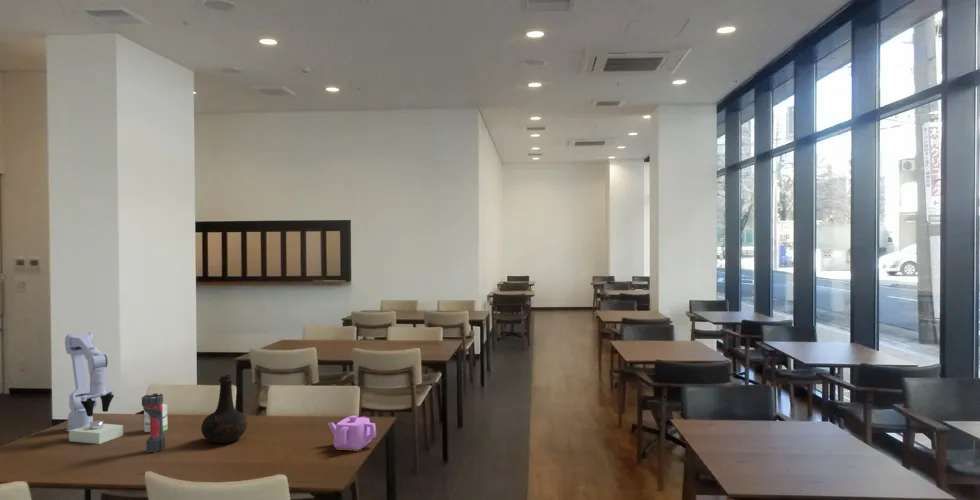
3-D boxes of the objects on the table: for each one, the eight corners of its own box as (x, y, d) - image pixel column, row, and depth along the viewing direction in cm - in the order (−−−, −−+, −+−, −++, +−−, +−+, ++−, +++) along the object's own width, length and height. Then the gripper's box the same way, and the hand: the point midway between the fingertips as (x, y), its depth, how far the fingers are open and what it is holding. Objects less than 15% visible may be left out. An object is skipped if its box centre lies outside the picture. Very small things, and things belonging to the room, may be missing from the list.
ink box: (168, 429, 272) (168, 403, 272) (160, 432, 268) (160, 406, 268) (151, 428, 274) (151, 403, 274) (143, 431, 269) (143, 405, 269)
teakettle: (340, 455, 237) (340, 424, 237) (326, 444, 251) (326, 414, 251) (380, 447, 247) (380, 417, 247) (364, 437, 261) (364, 408, 261)
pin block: (69, 441, 256) (69, 430, 256) (93, 432, 268) (93, 422, 268) (99, 443, 253) (99, 433, 253) (123, 435, 264) (123, 425, 264)
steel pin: (86, 438, 258) (86, 423, 258) (96, 434, 263) (96, 420, 263) (96, 439, 257) (96, 424, 257) (106, 435, 262) (106, 420, 262)
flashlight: (139, 455, 238) (139, 398, 238) (145, 449, 245) (145, 393, 245) (161, 453, 240) (161, 396, 240) (166, 447, 247) (166, 392, 247)
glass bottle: (192, 443, 253) (192, 377, 253) (228, 432, 269) (228, 369, 269) (220, 449, 244) (220, 381, 245) (256, 437, 260) (256, 373, 260)
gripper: (90, 386, 253) (90, 418, 253) (119, 379, 268) (119, 410, 268) (76, 386, 255) (76, 417, 255) (106, 378, 269) (106, 409, 269)
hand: (97, 413), depth 261 cm, fingers open, 7 cm apart
